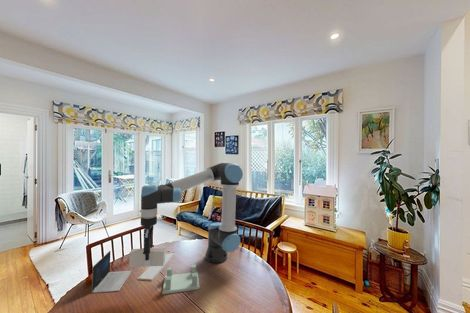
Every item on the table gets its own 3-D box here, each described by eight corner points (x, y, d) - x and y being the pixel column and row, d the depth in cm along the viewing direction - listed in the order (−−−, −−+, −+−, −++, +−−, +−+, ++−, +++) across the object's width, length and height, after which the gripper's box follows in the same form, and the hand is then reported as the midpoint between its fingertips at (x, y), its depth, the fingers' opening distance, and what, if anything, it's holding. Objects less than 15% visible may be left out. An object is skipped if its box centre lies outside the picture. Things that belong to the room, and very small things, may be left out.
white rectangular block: (165, 261, 102) (165, 248, 103) (163, 265, 98) (163, 251, 99) (132, 262, 101) (132, 248, 101) (129, 267, 97) (129, 252, 97)
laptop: (118, 292, 99) (119, 265, 100) (91, 293, 98) (92, 267, 98) (132, 271, 117) (132, 249, 117) (109, 273, 115) (109, 250, 116)
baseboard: (134, 280, 110) (151, 282, 109) (134, 275, 110) (152, 276, 109) (160, 254, 140) (174, 255, 139) (160, 250, 140) (174, 251, 139)
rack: (197, 273, 116) (197, 263, 116) (199, 288, 103) (199, 276, 103) (164, 277, 111) (165, 266, 112) (162, 294, 98) (162, 281, 98)
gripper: (144, 212, 107) (143, 255, 107) (136, 222, 91) (135, 274, 90) (159, 211, 109) (158, 254, 109) (154, 221, 92) (153, 271, 92)
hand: (148, 263), depth 100 cm, fingers closed on white rectangular block, 4 cm apart
